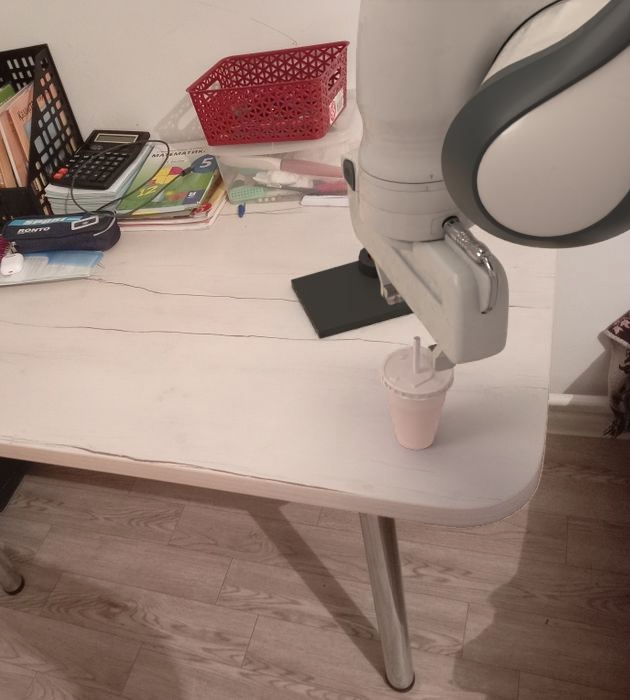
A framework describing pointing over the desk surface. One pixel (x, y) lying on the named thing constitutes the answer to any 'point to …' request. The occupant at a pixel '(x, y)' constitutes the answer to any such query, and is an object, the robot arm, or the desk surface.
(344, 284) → the scale
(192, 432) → the desk surface
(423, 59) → the robot arm
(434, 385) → the smoothie
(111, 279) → the desk surface
